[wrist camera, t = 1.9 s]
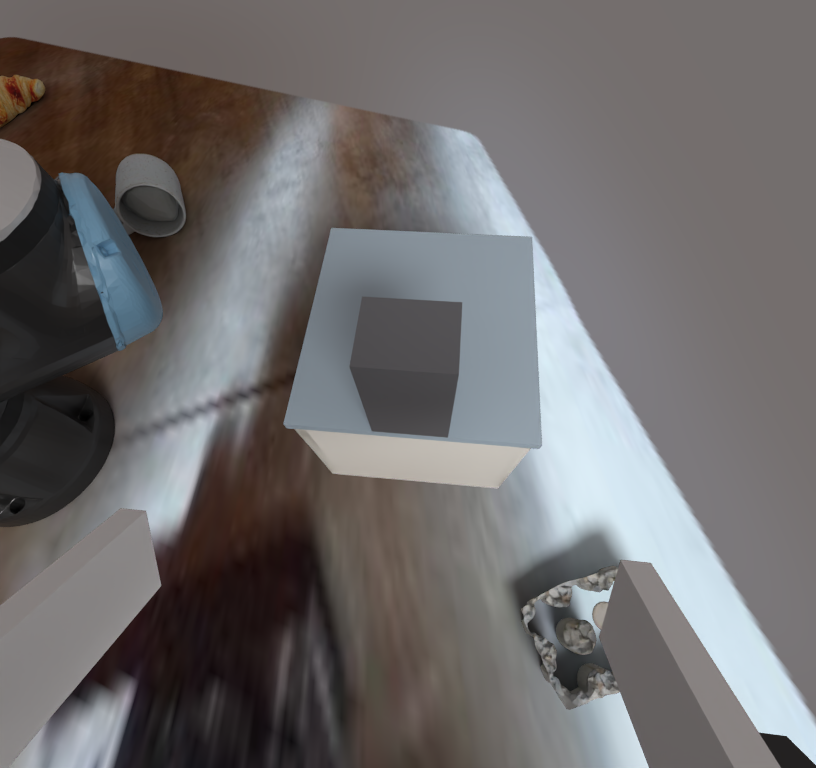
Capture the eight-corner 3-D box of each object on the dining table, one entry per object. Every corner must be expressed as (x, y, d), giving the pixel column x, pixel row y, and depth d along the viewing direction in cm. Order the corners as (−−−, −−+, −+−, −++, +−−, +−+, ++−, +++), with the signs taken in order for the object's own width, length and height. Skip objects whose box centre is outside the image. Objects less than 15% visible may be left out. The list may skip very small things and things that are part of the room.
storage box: (497, 488, 38) (530, 448, 27) (332, 473, 39) (294, 429, 28) (498, 329, 46) (523, 244, 34) (360, 321, 47) (339, 236, 36)
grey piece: (622, 558, 36) (645, 556, 32) (670, 656, 32) (702, 666, 29) (509, 597, 35) (520, 599, 31) (547, 702, 31) (564, 719, 28)
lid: (538, 448, 26) (596, 384, 18) (287, 428, 28) (223, 357, 19) (529, 244, 34) (566, 127, 25) (333, 234, 35) (303, 121, 27)
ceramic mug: (188, 190, 58) (156, 138, 51) (198, 227, 55) (164, 177, 48) (114, 213, 57) (70, 162, 50) (119, 253, 54) (73, 205, 47)
